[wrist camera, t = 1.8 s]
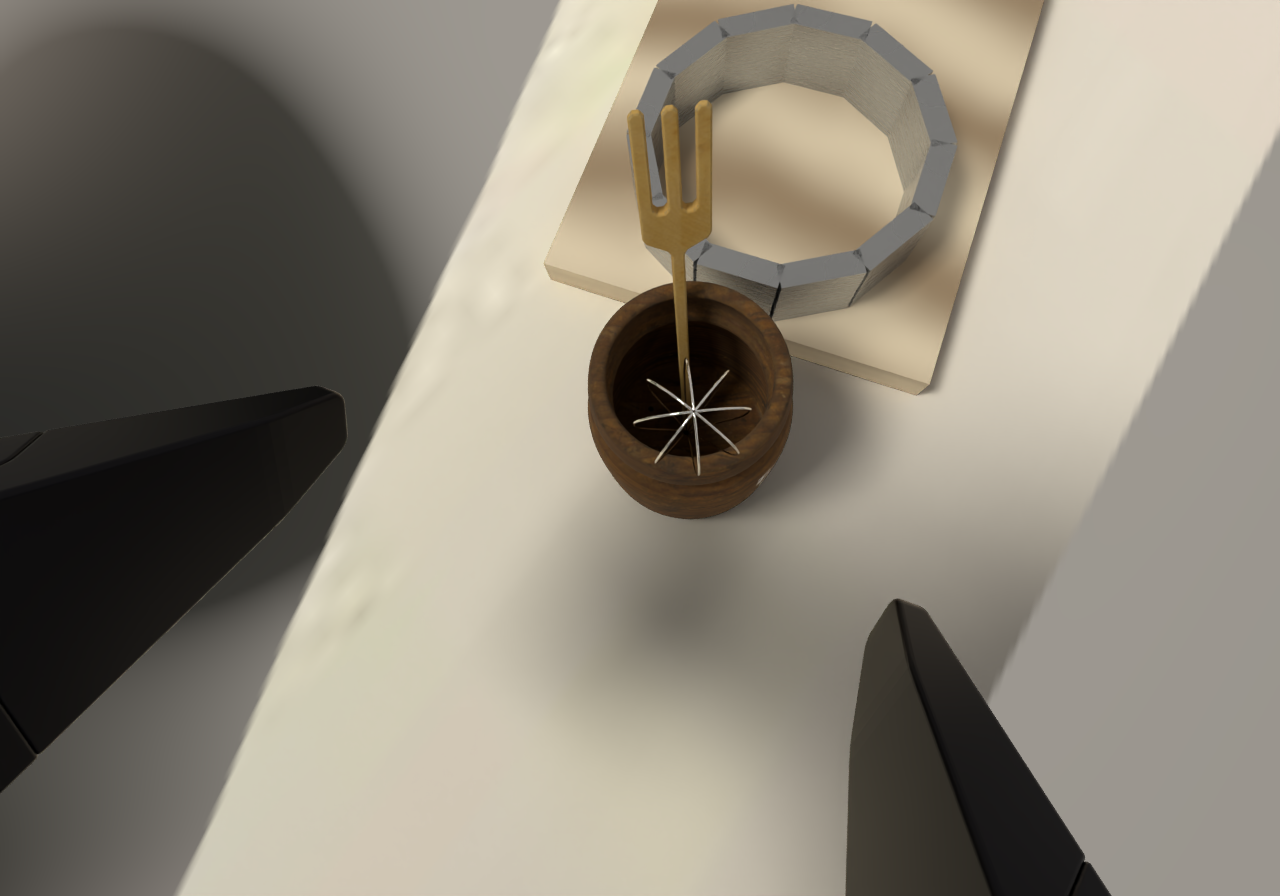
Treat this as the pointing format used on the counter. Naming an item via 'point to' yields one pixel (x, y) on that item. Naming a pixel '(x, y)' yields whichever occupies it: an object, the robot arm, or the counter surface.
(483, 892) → the counter surface
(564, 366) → the counter surface
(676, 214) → the utensil holder
